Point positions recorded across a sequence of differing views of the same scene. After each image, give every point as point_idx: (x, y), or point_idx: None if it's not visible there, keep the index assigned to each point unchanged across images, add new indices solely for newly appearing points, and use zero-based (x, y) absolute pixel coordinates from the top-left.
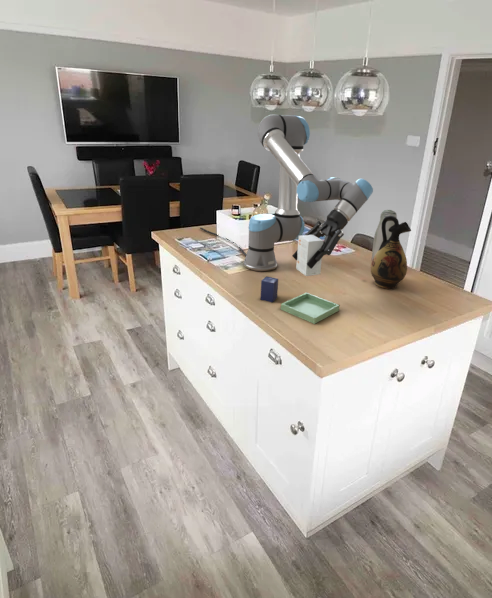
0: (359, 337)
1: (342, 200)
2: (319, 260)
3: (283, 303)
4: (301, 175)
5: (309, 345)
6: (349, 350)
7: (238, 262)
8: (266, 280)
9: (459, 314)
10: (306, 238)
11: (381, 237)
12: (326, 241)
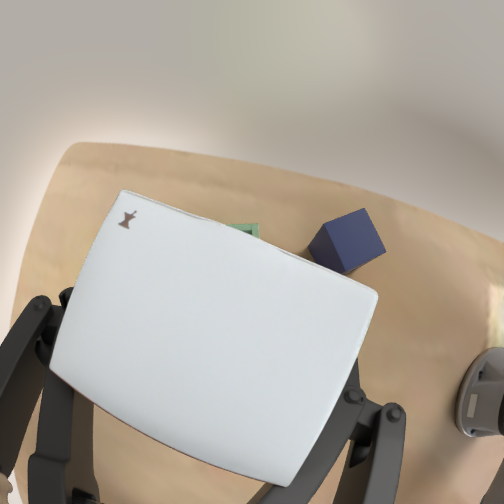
0: (47, 264)
1: None
2: None
3: (254, 231)
4: None
5: (106, 161)
6: (48, 207)
7: None
8: (356, 222)
9: (16, 478)
10: (218, 272)
11: None
12: (43, 388)
